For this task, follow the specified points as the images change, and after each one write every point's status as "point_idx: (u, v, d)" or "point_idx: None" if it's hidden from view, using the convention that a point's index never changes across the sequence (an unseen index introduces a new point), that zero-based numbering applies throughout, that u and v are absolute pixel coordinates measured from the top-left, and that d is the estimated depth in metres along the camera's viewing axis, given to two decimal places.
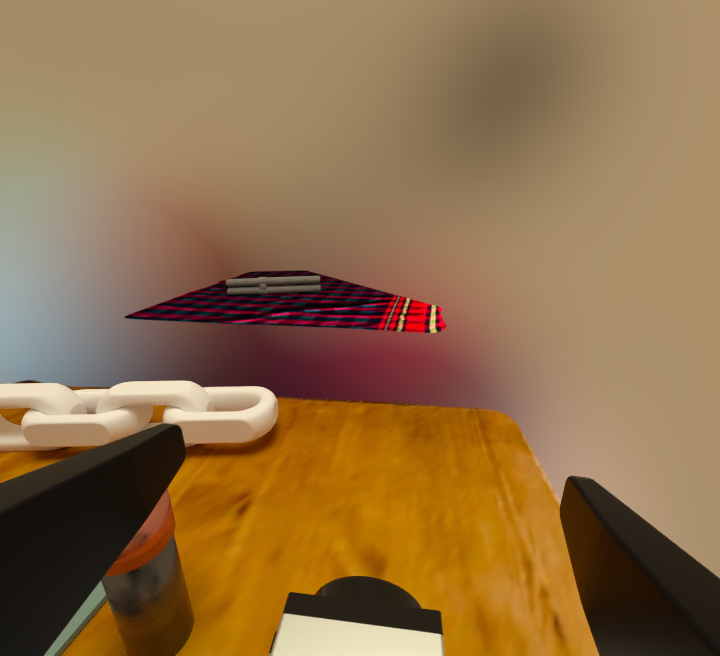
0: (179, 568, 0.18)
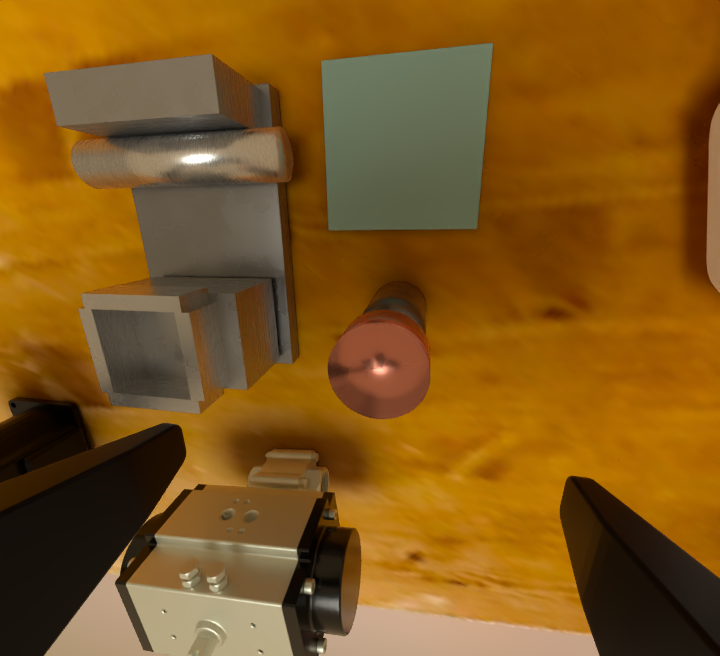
0: None
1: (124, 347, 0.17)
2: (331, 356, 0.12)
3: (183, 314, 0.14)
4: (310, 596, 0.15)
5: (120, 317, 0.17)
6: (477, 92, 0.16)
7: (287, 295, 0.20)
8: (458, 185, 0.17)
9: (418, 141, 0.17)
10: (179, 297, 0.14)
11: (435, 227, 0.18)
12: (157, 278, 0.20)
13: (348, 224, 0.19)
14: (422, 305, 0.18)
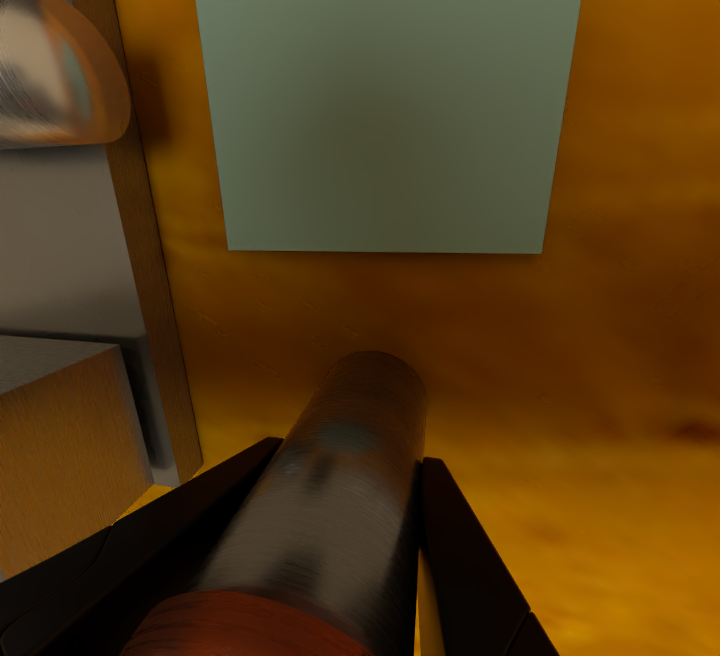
0: None
1: None
2: None
3: None
4: None
5: None
6: None
7: (158, 372, 0.11)
8: (502, 153, 0.07)
9: (410, 46, 0.07)
10: None
11: (447, 248, 0.08)
12: None
13: (265, 239, 0.09)
14: (416, 425, 0.08)
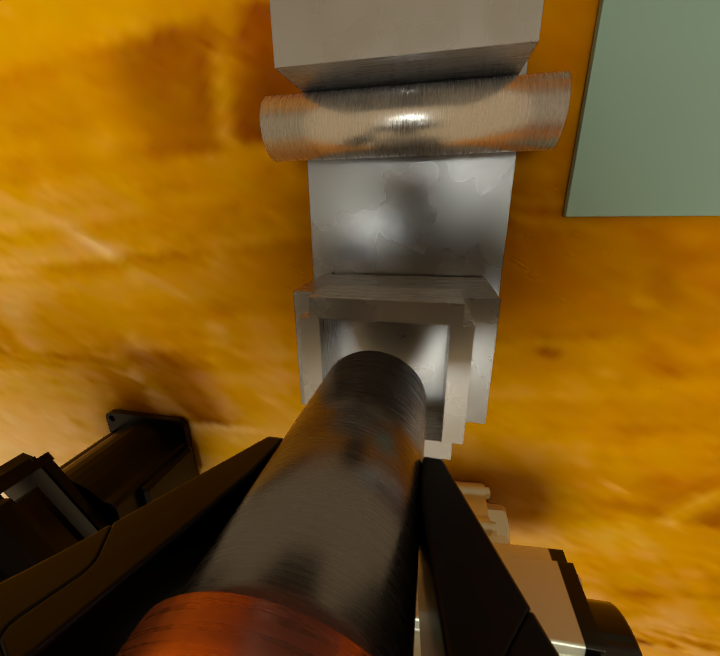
0: None
1: (331, 366, 0.13)
2: None
3: (465, 328, 0.10)
4: None
5: (331, 327, 0.13)
6: None
7: None
8: None
9: None
10: (464, 304, 0.10)
11: None
12: (333, 275, 0.16)
13: (596, 208, 0.15)
14: (416, 425, 0.08)
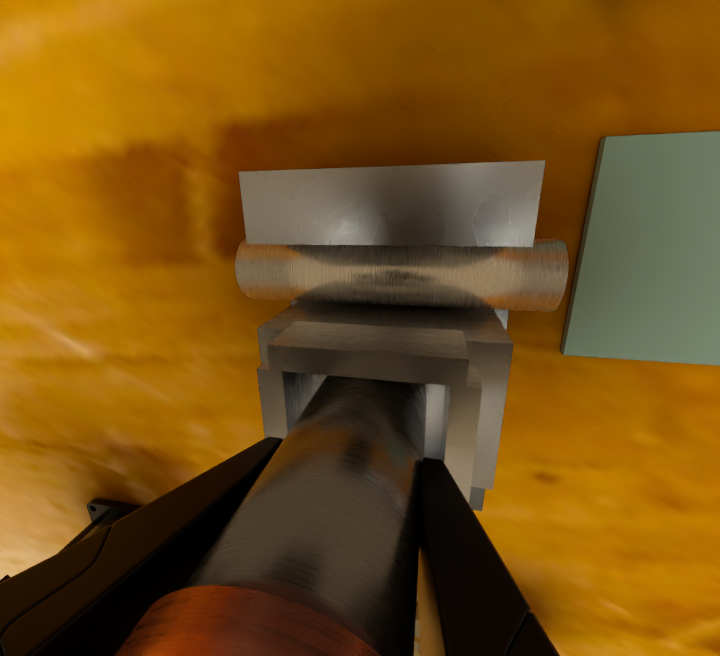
0: None
1: None
2: None
3: (469, 390, 0.08)
4: None
5: (302, 375, 0.10)
6: None
7: None
8: None
9: None
10: (468, 360, 0.08)
11: None
12: (311, 301, 0.14)
13: (596, 350, 0.14)
14: (416, 425, 0.08)
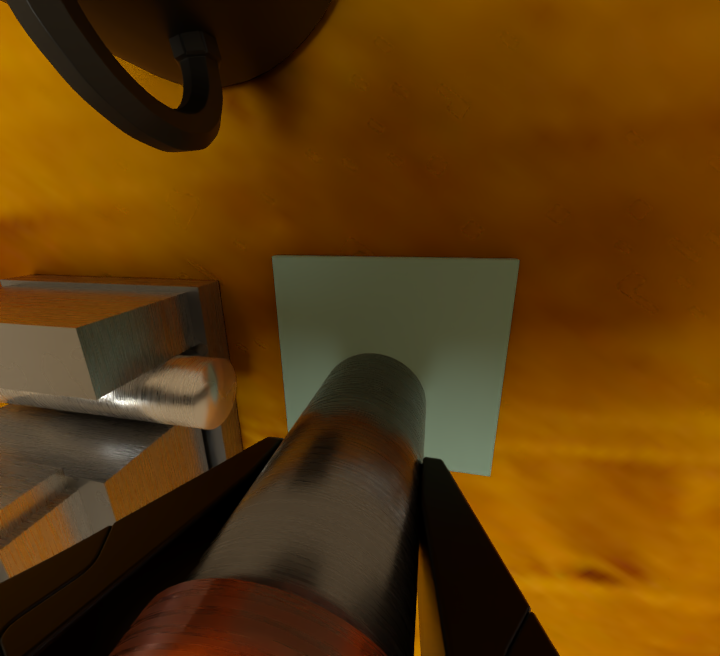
0: None
1: None
2: None
3: None
4: None
5: None
6: (494, 319, 0.11)
7: None
8: (464, 424, 0.12)
9: (409, 366, 0.12)
10: None
11: None
12: None
13: None
14: (415, 425, 0.08)
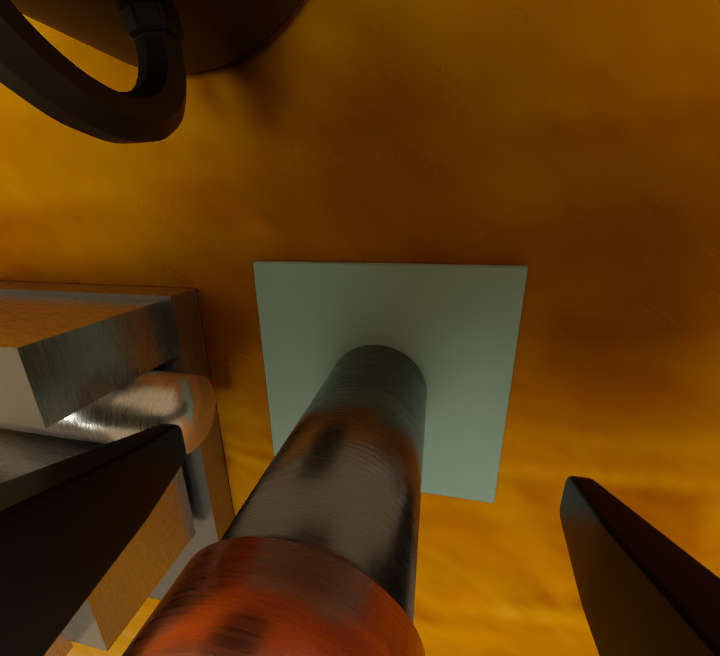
0: None
1: None
2: None
3: None
4: None
5: None
6: (499, 332, 0.10)
7: None
8: (466, 446, 0.11)
9: None
10: None
11: (430, 491, 0.12)
12: None
13: None
14: (417, 412, 0.09)
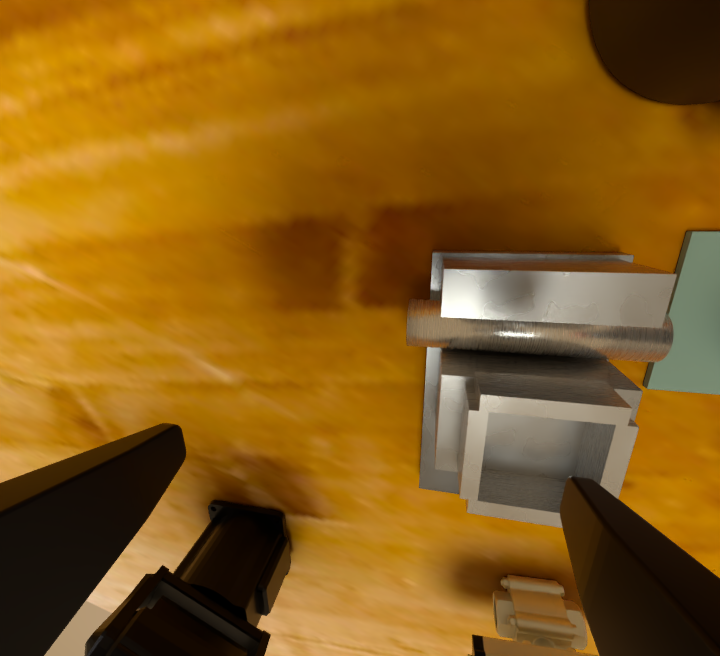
0: None
1: None
2: None
3: (629, 427, 0.12)
4: None
5: None
6: None
7: None
8: None
9: None
10: (631, 408, 0.12)
11: None
12: None
13: (674, 385, 0.18)
14: None
